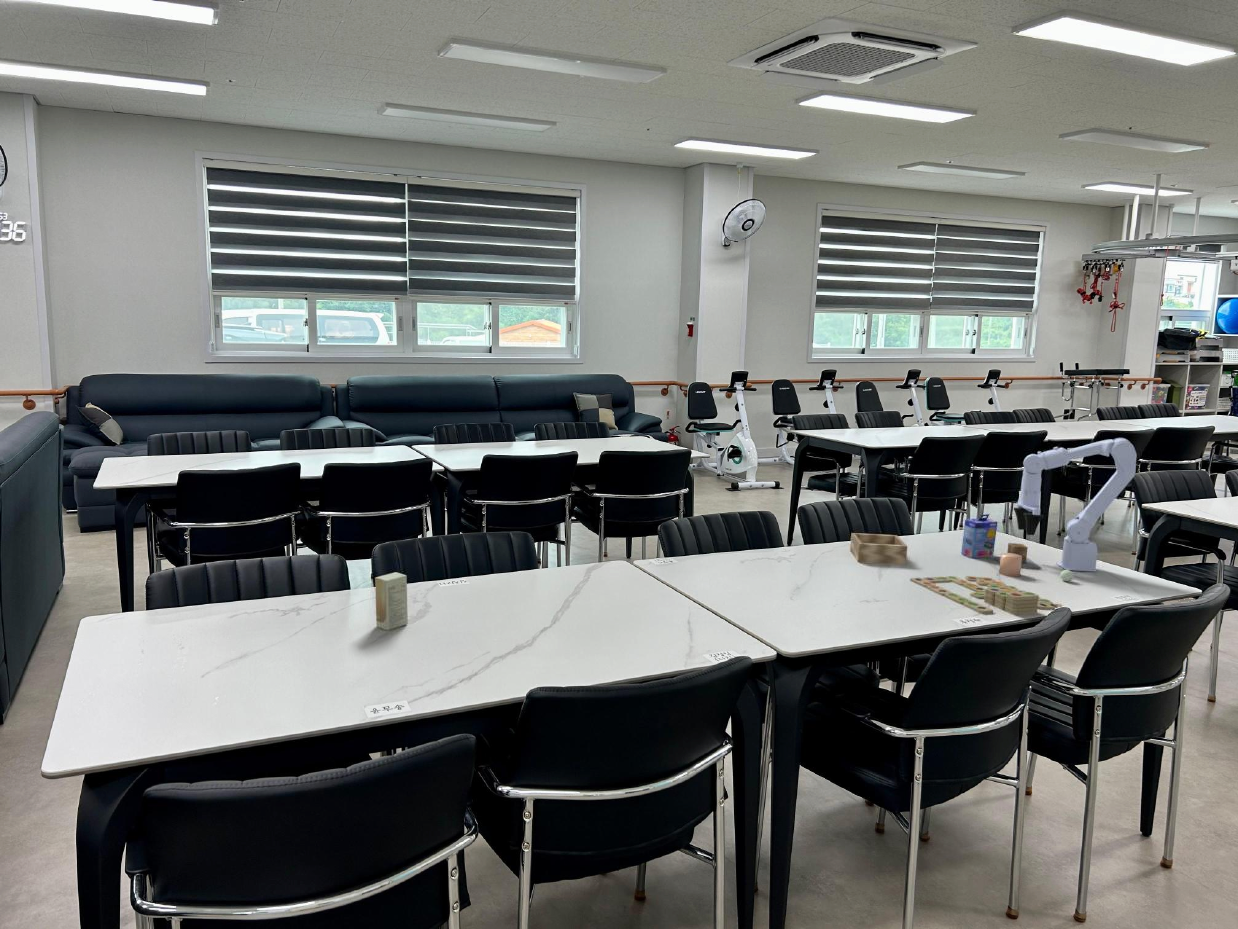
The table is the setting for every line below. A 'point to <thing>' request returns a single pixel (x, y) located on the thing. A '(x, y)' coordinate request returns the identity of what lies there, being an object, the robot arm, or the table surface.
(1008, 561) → the peach domed cylinder
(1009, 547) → the walnut block
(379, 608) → the skincare box
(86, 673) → the table surface
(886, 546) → the holder corral
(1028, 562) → the slate pad
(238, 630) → the table surface
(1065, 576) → the sage ball
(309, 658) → the table surface
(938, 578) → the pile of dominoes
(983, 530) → the blue box with handle
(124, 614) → the table surface
